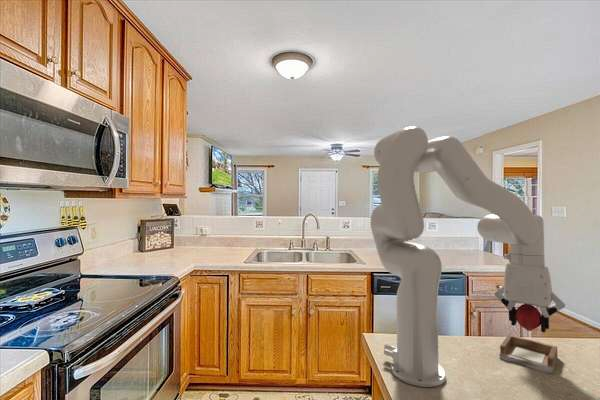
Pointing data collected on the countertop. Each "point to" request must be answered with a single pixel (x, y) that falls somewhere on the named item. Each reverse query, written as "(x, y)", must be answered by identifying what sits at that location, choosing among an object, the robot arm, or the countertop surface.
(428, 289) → the robot arm
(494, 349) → the countertop surface
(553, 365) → the tray
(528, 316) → the onion
